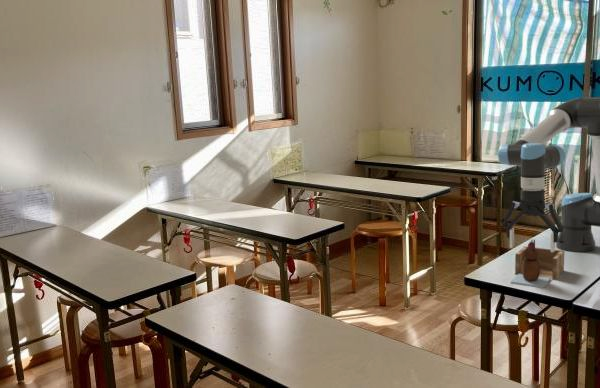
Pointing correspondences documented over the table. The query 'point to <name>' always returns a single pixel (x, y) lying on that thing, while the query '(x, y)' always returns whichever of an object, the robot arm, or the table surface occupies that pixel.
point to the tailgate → (538, 283)
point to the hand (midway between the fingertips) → (531, 249)
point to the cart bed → (543, 262)
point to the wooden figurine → (531, 263)
